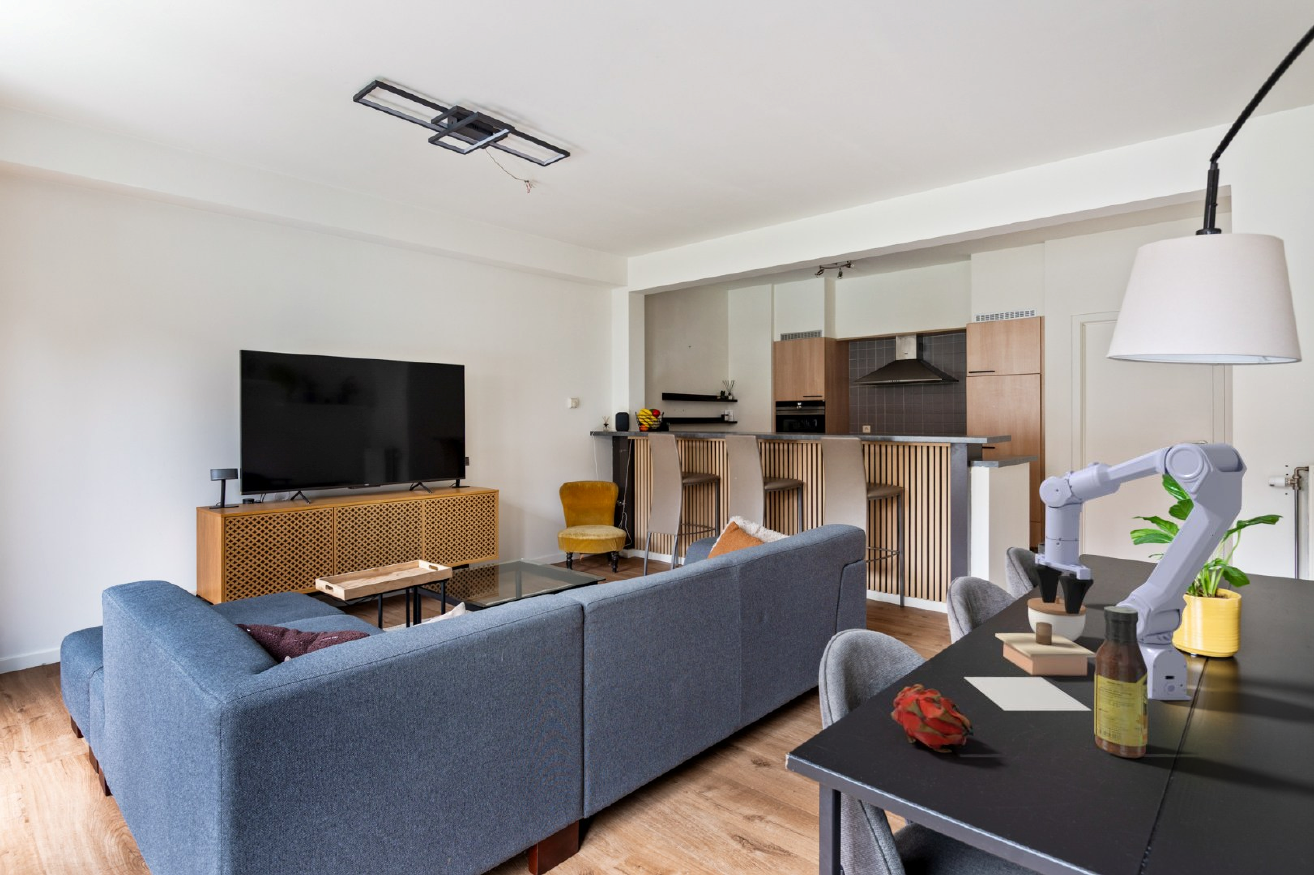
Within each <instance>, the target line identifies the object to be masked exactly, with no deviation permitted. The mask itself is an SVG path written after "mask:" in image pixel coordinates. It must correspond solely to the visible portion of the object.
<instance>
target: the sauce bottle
mask: <svg viewBox="0 0 1314 875" xmlns="http://www.w3.org/2000/svg"><path fill="white" fill-rule="evenodd" d="M1103 617H1104V621H1105V622H1104V624H1105V627H1104V629H1105V630H1104V640H1103V643H1102V644H1101V645H1100V646H1099V647H1098V649H1097V650H1096V652H1095V654H1096V657H1095V671H1094V695H1093V696H1094V700H1093V702H1094V703H1093V704H1094V705H1093V706H1094V710H1093V711H1094V712H1093V713H1094V722H1093V723H1094V725H1093V726H1094V727H1093V728H1094V729H1093V731H1094V735H1095V743H1096V745H1097V747H1098V748H1100V749H1101V750H1104V751H1106V752H1108V753H1110V754H1112V755H1113V756H1116V757H1117V756H1118V757H1121V758H1129V759H1130V758H1131V759H1137V758H1142V757H1144V755H1145V754H1146V751H1147V749H1146V748H1147V747H1146V746H1147V744H1148V713H1149V712H1148V710H1149V709H1148V705H1149V704H1148V701H1149V699H1148V692H1147V689H1148V688H1147V683H1148V681H1147V678H1148V670H1147V667H1146V664H1145V661H1144V658H1143V656H1142V653H1141V650H1140V647H1139V644H1138V642H1137V622H1138V620H1139V619H1138V612H1137V611H1136V610H1134V609H1130V608H1125V607H1118V606H1116V605H1115V606H1114V605H1110V606H1104V607H1103Z"/></svg>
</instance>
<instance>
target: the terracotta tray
mask: <svg viewBox="0 0 1314 875" xmlns="http://www.w3.org/2000/svg"><path fill="white" fill-rule="evenodd" d="M1002 651H1003V657H1004V658H1005V659H1006V660H1008V661H1010V662H1011V663H1012V664H1015V665H1016V666H1017V667H1019V668H1020V669H1022V670H1023V671H1025V672H1026V673H1028V674H1029V675H1031V676H1073V677H1074V676H1078V677H1079V676H1085V677H1086V676H1088V657H1029V656H1028V655H1026V654H1024V653H1023V652H1021V651H1019V650H1017V649H1016V648H1014V647H1012V646H1011V645H1009V644H1007V643H1006V642H1004V641H1003V650H1002Z"/></svg>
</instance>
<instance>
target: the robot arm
mask: <svg viewBox="0 0 1314 875" xmlns="http://www.w3.org/2000/svg"><path fill="white" fill-rule="evenodd" d="M1247 470H1248V468H1247V465H1246V463H1245V461H1244V459H1243V458H1242V456H1241V454H1240V452H1239V451H1238V450H1237V449H1236V448H1235V446H1232V444H1231V445H1230V444H1228V443H1224V442H1213V443H1193V442H1183V443H1182V442H1181V443H1179V444H1176V445H1175V446H1167V447H1161V448H1158V449H1156V450H1154V451H1151V452H1148V453H1146V454H1145V453H1144V454H1143V455H1141V456H1138V457H1135V458H1132V459H1130V460H1127V461H1125V462H1124V461H1123V462H1122V463H1118V464H1116V465H1114V466H1112V465H1109V464H1108V463H1105V462H1104V463H1103V462H1102V463H1100V462H1099V461H1095V462H1094V461H1093V462H1090V463H1088V464H1087V467H1086V468H1083V469H1079V470H1077V471H1074V470H1069V471H1066V472H1065V475H1064V476H1062V477H1061V476H1060V477H1059V476H1050V477H1048V478H1046V479H1044V480H1043V481H1042V482H1041V484H1040V487H1039V497H1040V499H1041V501H1042V502H1043V503H1044V504H1045V526H1044V527H1045V529H1044V530H1045V532H1044V534H1045V535H1044V538H1045V539H1044V542H1045V554H1038V553H1035V555H1034V563H1035V564H1037V565H1036V566H1035V565H1033V566H1032V565H1031V568H1030V569H1031V571H1032V574H1033V575H1034V576H1035V579H1036V581H1037V584H1038V588H1039V593H1040V596H1041V597H1040V598H1042V601H1043V602H1044V603H1055V600H1056V595H1057V596H1058V586H1059V583H1060V586H1061V587H1062V591H1063V592H1062V593H1063V598H1064V599H1063V600H1064V602H1065V610H1066V613H1068V614H1079V611H1080V608H1081V605H1083V602H1084V599H1085V597H1086V595H1087V593H1088V591H1089V590H1090V588H1091V587H1092V586H1093V584H1094V579H1093V578H1091V568H1088V567H1087V566H1085V565H1083V564H1082V563H1080V525H1081V524H1080V520H1081V513H1082V510H1083V509H1082V508H1083V505H1084V504H1085V502H1089V501H1090V500H1094V499H1098V498H1102V497H1105V496H1107V495H1111V494H1112V495H1113V494H1115V493H1116V492H1118V491H1119V490H1120V487H1121V484H1123V483H1127V482H1131V481H1135V480H1138V479H1143V478H1147V477H1149V476H1153V475H1157V474H1160V475H1163V476H1164V475H1166V476H1167V475H1170V476H1171V477H1172V478H1173V480H1175V481H1176V483H1177V484H1178V485H1179V486H1180V488H1181V489H1182V490H1183V491H1184V492H1185V493H1186V494H1187V495H1188V497H1189V498H1190V500H1191V502H1192V504H1193V507H1192V509H1191V511H1190V513H1189V514H1188V516H1187V517H1186V519H1185V520H1184V522H1183V524H1182V525H1181V527H1180V528H1179V530H1178V531H1177V533H1176V534H1175V535H1174V538H1173V539H1172V541H1171V542H1170V543H1169V546H1168V547H1167V549H1166V550H1165V552H1164V553H1163V555H1162V556H1161V558H1160V560H1159V562H1158V563H1157V564H1156V566H1155V568H1154V569H1153V570H1152V572H1151V574H1150V575H1149V577H1148V579H1146V581H1145V583H1142V585H1140V586H1139V587H1136V588H1135V589H1134V590H1133V591H1131V593H1130V594H1129V596H1128V597H1127V598H1126V599H1125V600H1122V601H1119V602H1118V603H1117V604H1116V605H1115V606H1118V607H1125V608H1130V609H1134V610H1136V611H1137V612H1138V619H1139V620H1138V622H1137V642H1138V644H1139V647H1140V650H1141V653H1142V656H1143V658H1144V661H1145V664H1146V667H1147V670H1148V678H1147V681H1148V683H1147V688H1148V689H1147V692H1148V700H1158V701H1192V696H1190V695H1188V694H1187V690H1188V689H1187V688H1188V662H1187V658H1186V657H1185V655H1184V653H1182V652H1180V651H1179V650H1178V649H1177V648H1176V647H1175V645H1174V643H1173V639H1174V632H1176V631H1178V630H1179V629H1180V627H1181V626H1182V623H1183V612H1184V610H1185V608H1186V607H1187V605H1188V604H1187V601H1186V600H1185V599H1184V596H1185V595H1186V593H1187V591H1188V590H1189V588H1190V587H1191V586H1192V584H1193V582H1194V581H1195V580H1196V578H1197V576H1198V575H1199V574H1200V572H1201V571H1202V569H1203V568H1204V566H1205V564H1206V563H1207V562H1208V561H1209V559H1210V557H1211V556H1212V555H1213V552H1215V550H1216V548H1217V547H1218V545H1219V544H1220V543H1221V541H1222V540H1223V538H1224V536H1225V535H1226V534H1227V533H1228V530H1230V528H1231V526H1232V525H1233V523H1234V522H1235V520H1237V517H1238V515H1239V514H1240V513H1241V510H1242V507H1243V505H1242V504H1243V502H1242V500H1243V478H1244V475H1245V473H1246V472H1247ZM1209 522H1210V523H1209ZM1212 535H1213V537H1212ZM1062 572H1065V573H1066V574H1068V575H1064V576H1061V574H1062Z"/></svg>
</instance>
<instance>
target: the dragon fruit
mask: <svg viewBox="0 0 1314 875" xmlns="http://www.w3.org/2000/svg"><path fill="white" fill-rule="evenodd" d="M893 707H894V709H893V711H891V713H890V714H889V716H890V717H891V719H892V721H894V722H897V724H899V725H900V726H903V729H904V732H905V735H906V737H907V739H908V742H909V743H910V744H912V743H913V744H914V743H915V742H916V739H917V740H918V741H920V742H921V743H922V744H924V745H926V746H927V747H928V748H930V749H932V750H933V751H935V752H939V753H944V754H945V753H953V751H952V750H951V749H949V748H946V747H942V746H943V745H944V746H945V745H946V746H948V745H959V744H960V745H963V746H964V745H965V744H966V742H967V736H971V737H974V735H975V734H974V732H973V731H971V730H975V729H977V728H974V727H973V726H972V724H971V722H970V720H969V719H968V718H967V717H965V715H964V714H963V713H962V712H961V711H960V706H959V705H958V704H956V703H955V702H954V701H953V700H951V699H949V698H946V697H942V695H941V693H940V692H939V691H938V689H934V688H933V687H931V688H928V689H926V688H925V686H924V685H923V684H921V683H920V684H919V683H915V684H914V685H912V686H908V685H907V686H905V687H904V688H902V690H901V691H900V692H898V694H897V696H896V698H895V699H894V700H893ZM954 708H955V710H954Z"/></svg>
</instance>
